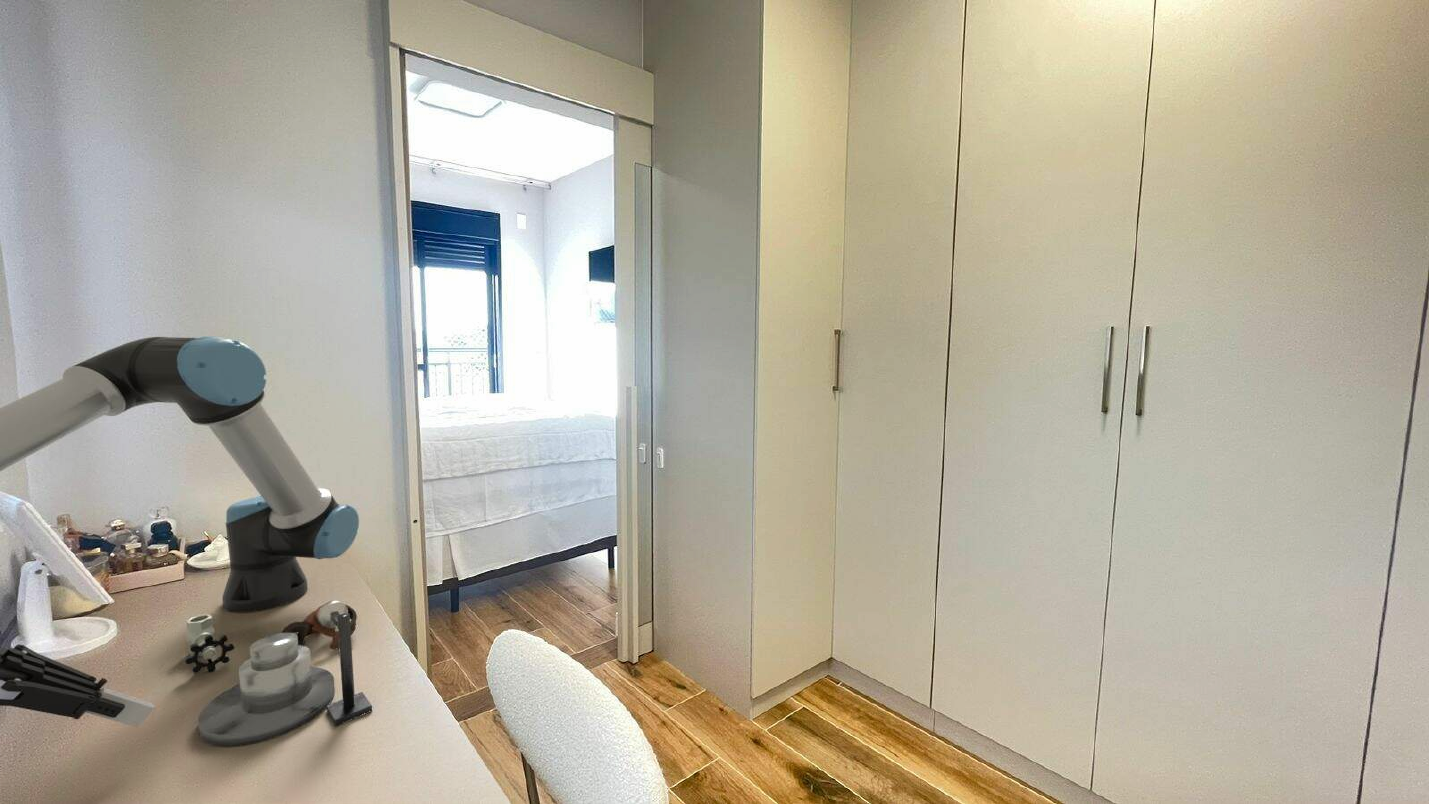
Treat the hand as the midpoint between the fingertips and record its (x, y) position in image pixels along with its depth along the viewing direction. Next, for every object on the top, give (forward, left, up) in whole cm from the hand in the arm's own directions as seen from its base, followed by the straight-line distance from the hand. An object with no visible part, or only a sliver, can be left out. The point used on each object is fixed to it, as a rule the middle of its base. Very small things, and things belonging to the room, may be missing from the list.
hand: (145, 715), depth 80 cm
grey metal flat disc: (0, +14, -6) cm, 15 cm away
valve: (-26, +8, -6) cm, 28 cm away
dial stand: (+7, +22, -6) cm, 24 cm away
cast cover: (0, +15, -4) cm, 15 cm away
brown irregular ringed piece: (-17, +24, -6) cm, 30 cm away
